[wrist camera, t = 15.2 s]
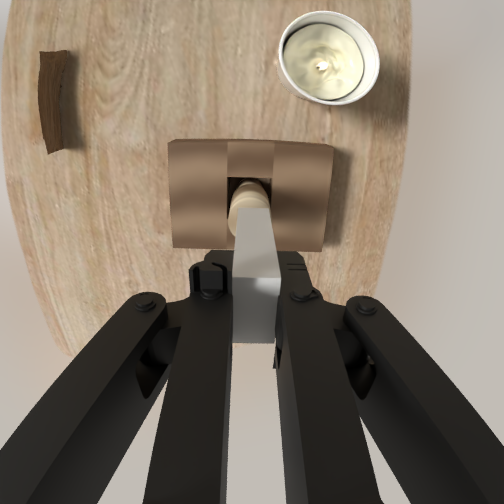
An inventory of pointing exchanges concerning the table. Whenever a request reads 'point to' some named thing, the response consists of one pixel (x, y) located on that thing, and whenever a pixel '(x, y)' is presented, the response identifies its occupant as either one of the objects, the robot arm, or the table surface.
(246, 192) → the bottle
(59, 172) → the table surface
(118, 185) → the table surface
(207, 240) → the wooden block with hole
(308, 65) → the candle holder
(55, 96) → the wood plank
